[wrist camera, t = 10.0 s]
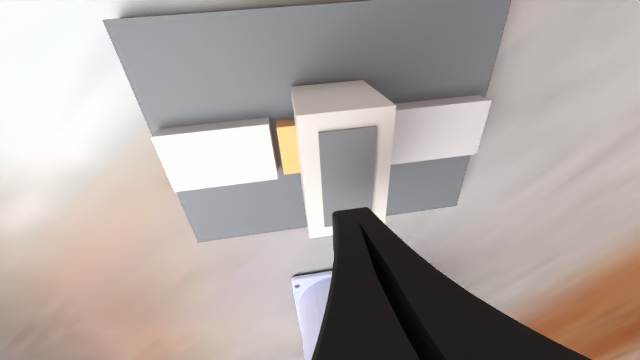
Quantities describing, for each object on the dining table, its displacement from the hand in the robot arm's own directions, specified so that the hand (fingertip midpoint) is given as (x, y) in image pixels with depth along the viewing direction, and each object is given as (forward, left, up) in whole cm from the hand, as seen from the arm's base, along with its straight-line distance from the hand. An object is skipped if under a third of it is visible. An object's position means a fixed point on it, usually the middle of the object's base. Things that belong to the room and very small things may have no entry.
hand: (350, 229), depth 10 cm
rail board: (0, -1, -9) cm, 9 cm away
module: (+1, -1, -8) cm, 8 cm away
